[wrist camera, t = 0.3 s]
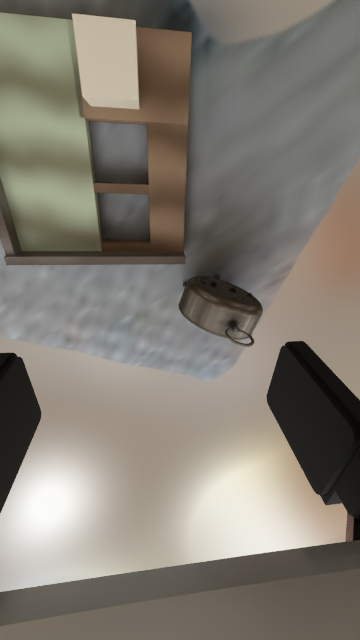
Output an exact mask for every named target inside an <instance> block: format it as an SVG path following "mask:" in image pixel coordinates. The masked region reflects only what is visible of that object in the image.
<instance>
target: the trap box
mask: <svg viewBox="0 0 360 640" xmlns="http://www.w3.org/2000/svg"><path fill="white" fill-rule="evenodd" d="M136 34H137V55H138V81H139V107H140V109H126V108H111V107H96V106H90V105H89V104H88V102H87V101H86V100H85V99H84V98H83V96H82V90H81V82H80V74H79V66H78V58H77V51H76V43H75V35H74V27H73V20H69V19H59V18H50V17H40V16H31V15H21V14H12V13H2V12H0V239H1V242H2V245H3V248H4V251H5V254H6V256H5V257H4V258H5V261H6V264H7V265H101V264H185V260H186V256H185V254H184V252H183V244H184V218H185V193H186V168H187V142H188V117H189V92H190V66H191V41H192V32H182V31H173V30H163V29H154V28H144V27H136ZM89 121H93V122H109V123H126V124H142V125H147V143H148V180H149V184H129V183H98V182H96V179H95V171H94V163H93V154H92V146H91V138H90V130H89ZM97 193H127V194H149V216H150V240H103V237H102V229H101V220H100V212H99V204H98V196H97Z"/></svg>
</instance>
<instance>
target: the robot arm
mask: <svg viewBox="0 0 360 640" xmlns="http://www.w3.org/2000/svg"><path fill="white" fill-rule="evenodd" d="M267 402H268V405H269V407H270V409H271V411H272V413H273V414H274V416H275V418H276V420H277V422H278V424H279V426H280V428H281V429H282V431H283V433H284V435H285V437H286V439H287V441H288V443H289V445H290V447H291V449H292V450H293V452H294V454H295V456H296V458H297V460H298V462H299V464H300V466H301V468H302V469H303V471H304V473H305V475H306V477H307V479H308V481H309V483H310V485H311V486H312V488H313V490H314V491H315V492H316V493H317V494H318V495H320V496H321V497H322V499H323V501H324V503H325V505H331V504H339V503H343V505H344V507H345V508H346V510H347V527H346V542H341V543H334V544H326V545H320V546H312V547H305V548H298V549H291V550H284V551H276V552H270V553H262V554H255V555H248V556H241V557H234V558H227V559H220V560H214V561H207V562H200V563H193V564H186V565H179V566H172V567H165V568H159V569H152V570H145V571H138V572H131V573H125V574H118V575H111V576H104V577H98V578H91V579H84V580H78V581H71V582H65V583H58V584H52V585H45V586H38V587H32V588H25V589H18V590H12V591H5V592H0V640H360V400H359V399H358V398H357V397H356V396H355V395H354V394H353V393H352V392H351V391H350V390H349V389H348V387H347V386H346V385H345V384H344V383H343V382H342V381H341V380H340V379H339V378H338V377H337V376H336V375H335V374H334V373H333V372H332V370H330V368H329V367H328V366H327V365H326V364H325V363H324V362H323V361H322V360H321V359H320V358H319V357H318V356H317V355H316V353H314V351H313V350H312V349H311V348H310V347H309V346H308V345H307V344H306V343H305V342H303V341H293V342H287V343H286V344H285V346H282V347H281V350H280V353H279V357H278V360H277V363H276V366H275V370H274V373H273V376H272V380H271V383H270V386H269V390H268V393H267ZM40 419H41V410H40V407H39V404H38V401H37V398H36V396H35V393H34V390H33V387H32V385H31V382H30V379H29V376H28V374H27V371H26V368H25V365H24V362H23V360H22V358H21V357H17V355H16V354H15V353H0V513H1V510H2V508H3V506H4V503H5V501H6V499H7V496H8V494H9V492H10V489H11V487H12V485H13V482H14V480H15V478H16V475H17V473H18V471H19V468H20V466H21V464H22V461H23V459H24V457H25V454H26V452H27V450H28V447H29V445H30V442H31V440H32V438H33V436H34V433H35V431H36V429H37V426H38V424H39V422H40Z"/></svg>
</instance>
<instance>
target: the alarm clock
mask: <svg viewBox="0 0 360 640" xmlns="http://www.w3.org/2000/svg"><path fill="white" fill-rule="evenodd" d="M215 278H216V279H215ZM215 278H211V277H205V276H197V277H193V278H191V279H190V280H189V281H188V282H187V284H186V283H184V284H183V287H185V289H184V292H183V295H182V298H181V300H180V303H179V309H180V311H181V313H182V314H183V315H184V317H186V318H187V319H188V320H189V321H190V322H191V323H193V324H194V325H196V326H198V327H199V328H201V329H203V330H205V331H207V332H209V333H211V334H214V335H217V336H220V337H224V338H228V339H229V340H230V341H232V342H233V343H234V344H237V345H240V346H243V347H249V346H252V345H253V344H254V339H253V338H252V336H251V335H252V332H253V330H254V328H255V326H256V324H257V323H258V321H259V319H260V317H261V315H262V312H263V309H262V306H261V304H260V302H259V301H258V300H257V299H256V298H255V297H254V296H252V294H251V293H248V292H246V291H245V290H243V289H241V288H239V287H237V286H235V285H232V284H230V283H227V282H225V281H222V280H220V276H219V274H218V273H216V274H215ZM246 338H250V339H251V343H249V344H243V343H239V342H237V341H235V340H234V339H236V340H241V339H246Z"/></svg>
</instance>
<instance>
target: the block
mask: <svg viewBox="0 0 360 640" xmlns="http://www.w3.org/2000/svg"><path fill="white" fill-rule="evenodd" d="M72 19H73V27H74V35H75V43H76V51H77V58H78V66H79V74H80V82H81V90H82V96H83V98H84V99H85V100H86V101H87V102H88V104H89V105H90V106H96V107H111V108H126V109H140V107H139V81H138V55H137V34H136V20H129V19H120V18H110V17H101V16H92V15H83V14H73V13H72Z"/></svg>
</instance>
